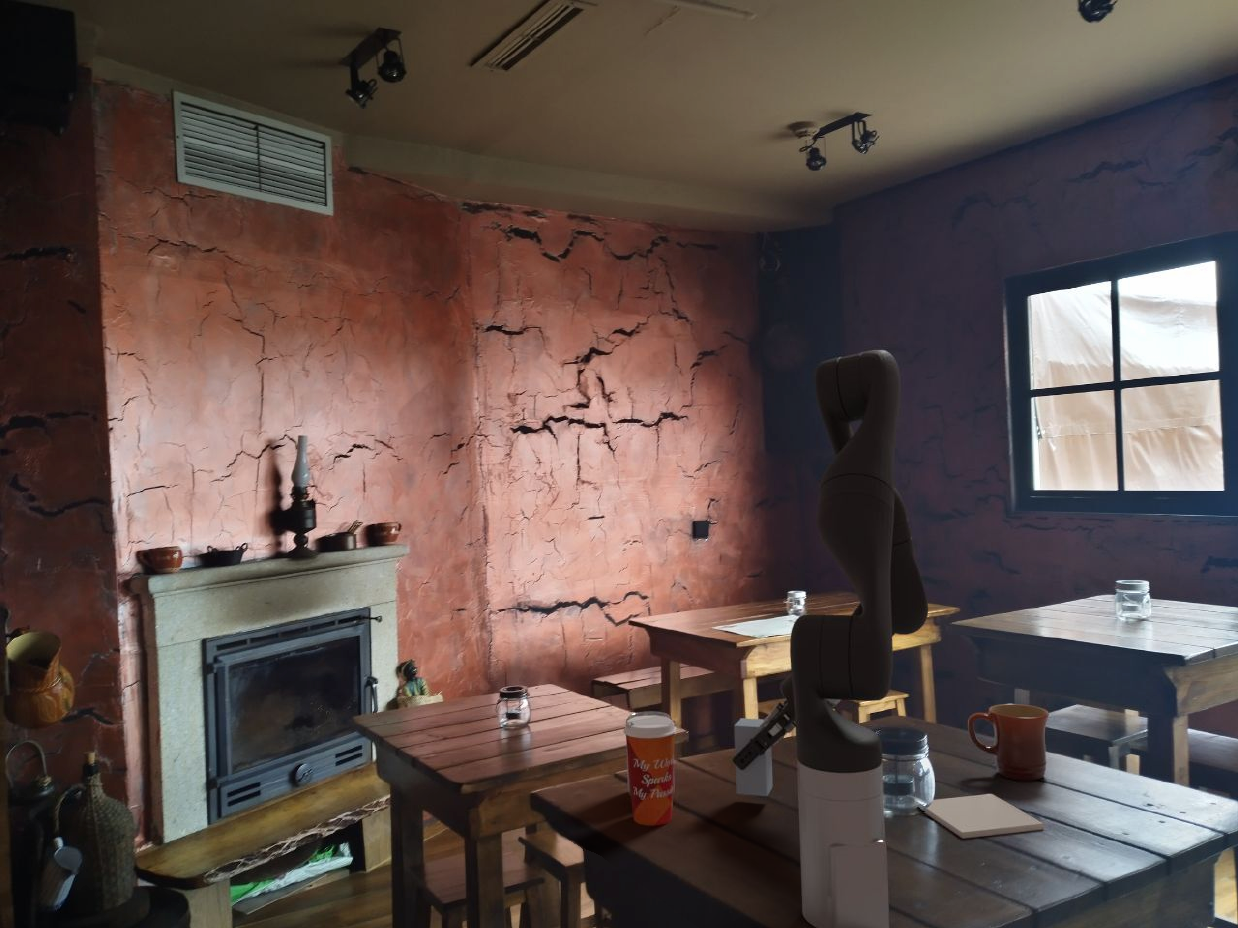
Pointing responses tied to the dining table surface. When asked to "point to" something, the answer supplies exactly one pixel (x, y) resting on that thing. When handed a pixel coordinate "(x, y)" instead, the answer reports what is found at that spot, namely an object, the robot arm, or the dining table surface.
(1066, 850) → the dining table surface
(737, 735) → the block
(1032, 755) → the mug
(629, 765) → the paper cup
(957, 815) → the tile
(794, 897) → the dining table surface
